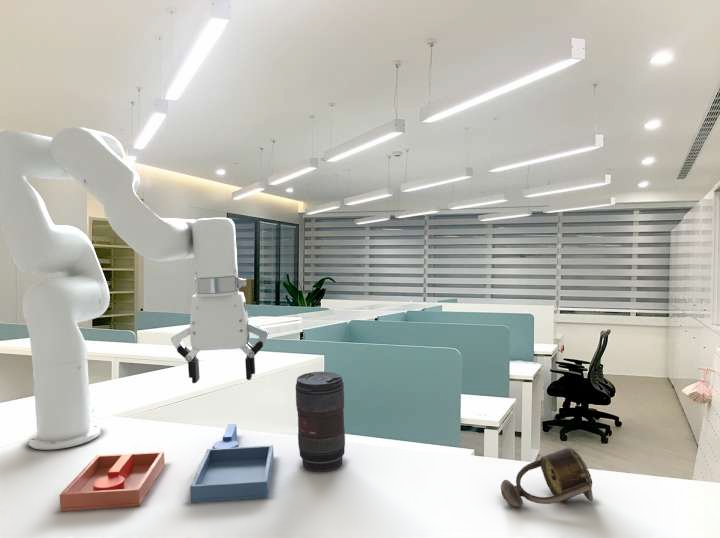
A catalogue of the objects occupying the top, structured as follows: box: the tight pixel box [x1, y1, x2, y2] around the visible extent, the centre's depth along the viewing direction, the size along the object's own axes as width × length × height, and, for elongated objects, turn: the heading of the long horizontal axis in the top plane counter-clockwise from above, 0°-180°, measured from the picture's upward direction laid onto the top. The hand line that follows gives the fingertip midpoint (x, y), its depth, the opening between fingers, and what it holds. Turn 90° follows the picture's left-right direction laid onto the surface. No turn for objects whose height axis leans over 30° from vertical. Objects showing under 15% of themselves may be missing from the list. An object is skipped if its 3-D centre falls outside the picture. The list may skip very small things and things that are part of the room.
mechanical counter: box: [500, 446, 594, 508], centre depth 84 cm, size 7×13×10 cm
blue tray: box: [189, 444, 275, 504], centre depth 94 cm, size 15×11×2 cm
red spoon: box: [93, 455, 133, 491], centre depth 92 cm, size 11×4×3 cm, turn 5°
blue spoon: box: [212, 423, 239, 449], centre depth 107 cm, size 11×4×3 cm, turn 5°
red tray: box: [59, 451, 166, 512], centre depth 92 cm, size 15×11×2 cm
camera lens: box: [295, 371, 346, 472], centre depth 98 cm, size 8×8×15 cm
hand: (222, 379), depth 107 cm, fingers open, 9 cm apart
